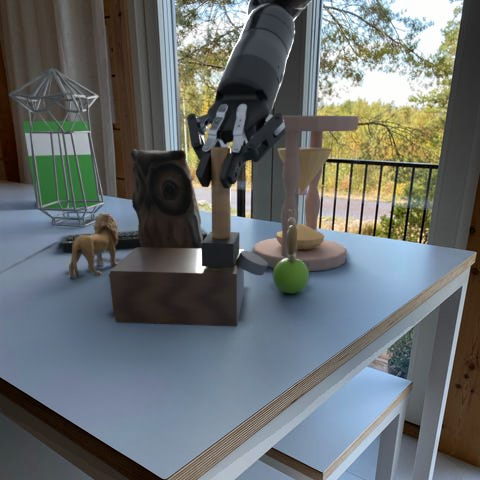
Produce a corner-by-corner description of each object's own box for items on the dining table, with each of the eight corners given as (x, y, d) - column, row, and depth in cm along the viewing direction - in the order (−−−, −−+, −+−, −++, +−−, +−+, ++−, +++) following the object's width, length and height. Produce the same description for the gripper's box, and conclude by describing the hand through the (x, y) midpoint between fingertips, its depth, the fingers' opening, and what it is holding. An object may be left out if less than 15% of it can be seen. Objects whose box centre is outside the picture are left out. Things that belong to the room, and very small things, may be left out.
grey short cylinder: (234, 266, 60) (239, 255, 60) (236, 257, 64) (241, 247, 63) (263, 278, 61) (268, 268, 60) (263, 269, 65) (268, 259, 64)
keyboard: (197, 231, 112) (197, 223, 111) (207, 242, 102) (207, 233, 101) (64, 240, 104) (63, 231, 103) (62, 252, 94) (61, 242, 94)
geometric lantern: (88, 231, 112) (66, 64, 98) (27, 229, 114) (-2, 65, 101) (115, 219, 126) (100, 71, 112) (61, 217, 129) (40, 72, 115)
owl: (203, 274, 81) (199, 150, 73) (128, 275, 81) (116, 150, 73) (205, 255, 93) (201, 146, 85) (140, 255, 92) (130, 146, 84)
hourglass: (317, 278, 79) (328, 115, 69) (234, 260, 89) (234, 115, 79) (361, 256, 92) (375, 116, 82) (284, 243, 102) (289, 116, 92)
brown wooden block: (107, 321, 62) (101, 270, 59) (133, 291, 73) (129, 246, 70) (236, 326, 61) (236, 273, 58) (243, 294, 72) (243, 249, 69)
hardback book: (96, 202, 152) (87, 121, 143) (98, 205, 146) (89, 121, 136) (37, 205, 146) (24, 121, 137) (37, 209, 140) (22, 121, 131)
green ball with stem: (305, 284, 76) (309, 209, 71) (309, 298, 70) (314, 217, 65) (271, 284, 76) (273, 209, 71) (272, 298, 70) (275, 217, 66)
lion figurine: (100, 258, 90) (94, 210, 87) (127, 259, 90) (122, 211, 86) (62, 282, 77) (54, 227, 74) (93, 284, 76) (86, 228, 73)
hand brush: (201, 266, 60) (198, 148, 54) (210, 252, 66) (209, 146, 61) (233, 267, 59) (233, 148, 54) (239, 253, 66) (240, 146, 60)
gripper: (196, 54, 62) (150, 160, 56) (298, 48, 57) (259, 164, 51) (215, 100, 68) (176, 199, 63) (308, 99, 63) (274, 206, 58)
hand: (213, 183), depth 57 cm, fingers closed on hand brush, 2 cm apart
